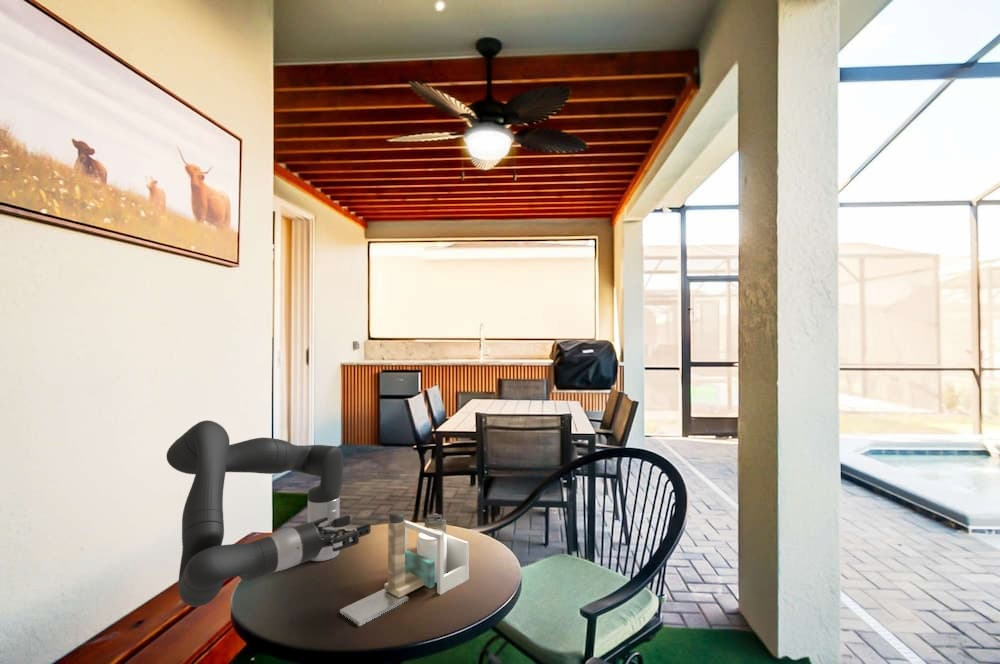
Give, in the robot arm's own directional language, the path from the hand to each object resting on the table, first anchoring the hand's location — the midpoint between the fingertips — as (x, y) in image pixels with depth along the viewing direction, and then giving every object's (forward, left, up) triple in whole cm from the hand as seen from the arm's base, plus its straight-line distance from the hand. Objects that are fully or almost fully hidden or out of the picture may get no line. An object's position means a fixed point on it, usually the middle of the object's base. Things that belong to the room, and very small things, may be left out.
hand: (359, 523), depth 111 cm
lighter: (-15, +38, -22) cm, 46 cm away
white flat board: (0, +5, -21) cm, 22 cm away
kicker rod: (0, +14, -20) cm, 25 cm away
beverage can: (0, +23, -22) cm, 31 cm away
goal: (0, +24, -21) cm, 32 cm away
